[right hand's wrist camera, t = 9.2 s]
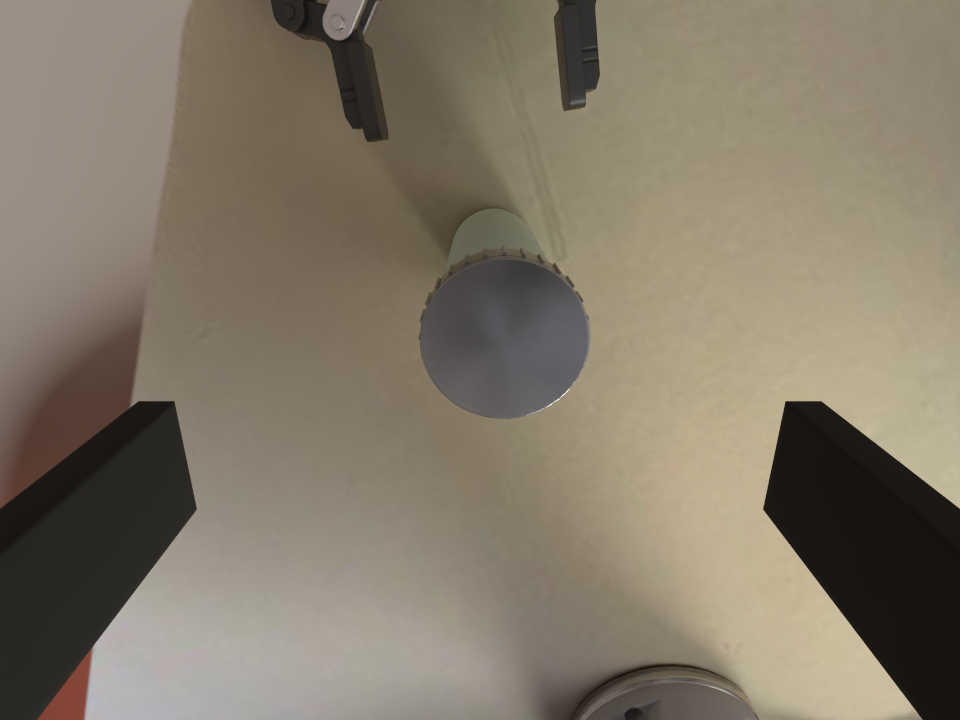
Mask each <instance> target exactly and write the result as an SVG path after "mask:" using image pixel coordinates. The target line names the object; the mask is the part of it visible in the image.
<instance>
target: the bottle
mask: <svg viewBox="0 0 960 720" xmlns="http://www.w3.org/2000/svg"><path fill="white" fill-rule="evenodd" d="M502 246H505V248H506V249H517V250H520V248H524V250H525V251H526V252H530V253H532V254H535V255H538V254H541V255H542V257H543V259H545V260H547V258H546V257H545V255H544V253H543V251H542V250H541V248H540V246H539V244H538V242H537V241H536V239H535V237H534V235H533V234H532V232H531V230H530V228H529V227H528V225H527V224H526V223H525V222H524V221H523V220H522V219H521V218H520V217H519V216H517V215H516V214H514V213H512V212H509V211H507V210H503V209H485V210H481V211H479V212H476V213H474V214H472V215H471V216H469V217H468V218H467V219H466V220H465V221H464V222H463V223H462V224H461V225H460V227H459V228H458V230H457V231H456V233H455V236H454V239H453V242H452V246H451V250H450V254H449V257H448V261H447V265H446V268H445V272H444V274H445V273H446V272H447V271H448V270H449V267H450V265H451V264H453V266H454V265H455V264H457V263H458V262H460V261H461V260H463V259H465V255H467V254H468V255H469V256H471V255H473V254H476V253H478V252H482V251H483V249H484V248H486V250H491V249H502ZM547 261H548V260H547Z"/></svg>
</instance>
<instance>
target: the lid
mask: <svg viewBox="0 0 960 720" xmlns="http://www.w3.org/2000/svg"><path fill="white" fill-rule="evenodd" d="M573 287H574V284H573V283H572V281H571V280H570V278H569V277H568V276H566V277H565V276H564V275H563V274H562V273H561V271H560V269H559V268H558V266H557V264H555V263H554V264H553V265H552V264H551V263H550V262H548V261H547V260H545V259H543V257H542V255H541V254H538V255H535V254H532V253H530V252H526V251H525V250H524V248H520V250H517V249H506V248H505V246H502V249H491V250H486V248H484V249H483V251H482V252H478V253H476V254H473V255H471V256H469V255H468V254H467V255H465V259H463V260H461V261H460V262H458V263H457V264H455V265H454V266H453V264H451V265H450V267H449V270H448V271H447V272H446V273H445V274H444V275H443V276H442V278H440V277H438V279H437V281H436V285H435V288H434V290H433V292H432V293H430V292H429V294H428V297H427V300H426V303H425V304H426V305H427V307H426V310H425V309H424V310H423V313H422V316H421V319H420V322H422V324H421V331H420V335H419V340H420V348H421V354H422V355H421V356H422V359H423V362H424V365H425V368H426V370H427V372H428V374H429V376H430V378H431V379H432V381H433V382H434V384H435V385H436V387H437V388H438V389H439V390H440V391H441V392H442V394H444V395H445V396H446V397H447V398H448V399H449V400H450V401H452V402H453V403H455V404H456V405H458V406H459V407H461V408H463V409H465V410H467V411H469V412H472V413H474V414H477V415H481V416H485V417H490V418H517V417H522V416H527V415H530V414H533V413H536V412H538V411H541V410H543V409H545V408H547V407H549V406H550V405H552V404H553V403H555V402H556V401H558V400H559V399H560V398H561V397H562V396H563V395H564V394H566V393H567V391H568V390H569V389H570V388H571V387H572V386H573V384H574V383H575V382H576V380H577V379H578V377H579V375H580V373H581V371H582V369H583V368H584V365H585V362H586V359H587V355H588V350H589V342H590V331H589V323H588V321H589V317H588V316H587V314H586V312H585V309H584V306H583V304H582V303H584V301H583V299H582V298H581V296H580V295H579V293H578V292H577V291H576V292H575V290H574V289H573Z"/></svg>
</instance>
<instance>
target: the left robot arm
mask: <svg viewBox="0 0 960 720" xmlns="http://www.w3.org/2000/svg"><path fill="white" fill-rule="evenodd" d="M381 1H382V0H329V2H328V5H326V4H322V3H317V1H316V0H271V3H272V8H273V14H274V17H275V19H276V21H277V22H278V24H279V25H280V26H282V27H283V28H285V29H287V30H288V31H290V32H292V33H294V34H295V35H297V36H299V37H300V38H302V39H306V40H309V39H311V40H316V41H320V42H324V43H326V44H327V45H328V47H329V48H330V51H331V53H332V57H333V62H334V67H335V71H336V76H337V80H338V85H339V90H340V94H341V99H342V103H343V108H344V113H345V117H346V119H347V120H348V122H349V123H350V125H351V127H352V128H353V129H363V131H364V134H365V138H366V140H367V142H375V141H381V140H387V139H388V129H387V124H386V119H385V113H384V108H383V103H382V98H381V93H380V88H379V83H378V78H377V72H376V67H375V62H374V57H373V52H372V48H371V47H370V46H369V45H367V44H366V43H365V40H364V39H365V37H366V34H367V32H368V29H369V27H370V25H371V22H372V20H373V17H374V15H375V13H376V10H377V8H378V6H379V4H380V2H381ZM556 1H557V2H558V5H559V10H558V11H557V13H556V15H555V16H554V24H555V34H556V45H557V55H558V66H559V76H560V86H561V97H562V105H563V110H564V111H567V110H574V109H580V108H583V107H585V105H586V92H590V91H593V90H595V89H596V87H597V83H598V79H599V76H600V71H599V60H598V44H597V31H596V17H595V3H596V0H556Z"/></svg>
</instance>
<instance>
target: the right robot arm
mask: <svg viewBox="0 0 960 720" xmlns="http://www.w3.org/2000/svg"><path fill="white" fill-rule="evenodd" d="M196 510H197V508H196V503H195V498H194V494H193V489H192V484H191V479H190V474H189V469H188V465H187V460H186V455H185V450H184V445H183V441H182V436H181V431H180V426H179V421H178V417H177V412H176V407H175V402H174V401H139V402H137V403H136V404H135V405H133V406H132V407H131V408H129V409H128V410H127V411H126V412H124V413H123V414H122V415H120V416H119V417H118V418H117V419H115V420H114V421H113V422H112V423H110V424H109V425H108V426H106V427H105V428H104V429H103V430H101V431H100V432H99V433H97V434H96V435H95V436H93V437H92V438H91V439H90V440H88V441H87V442H86V443H84V444H83V445H82V446H81V447H79V448H78V449H77V450H75V451H74V452H73V453H72V454H70V455H69V456H68V457H66V458H65V459H64V460H63V461H61V462H60V463H59V464H57V465H56V466H55V467H53V468H52V469H51V470H50V471H48V472H47V473H46V474H45V475H43V476H42V477H41V478H39V479H38V480H37V481H35V482H34V483H33V484H32V485H30V486H29V487H28V488H26V489H25V490H24V491H23V492H21V493H20V494H19V495H17V496H16V497H15V498H14V499H12V500H11V501H10V502H8V503H7V504H6V505H5V506H3V507H2V508H1V509H0V720H37V719H38V718H39V717H40V715H41V714H42V713H43V711H44V710H45V709H46V707H47V706H48V705H49V703H50V702H51V701H52V699H53V698H54V697H55V695H56V694H57V693H58V692H59V690H60V689H61V687H62V686H63V685H64V684H65V682H66V681H67V680H68V678H69V677H70V676H71V674H72V673H73V672H74V670H75V669H76V668H77V666H78V665H79V664H80V662H81V661H82V660H83V659H84V657H85V656H86V655H87V653H88V652H89V651H90V649H91V648H92V647H93V645H94V644H95V643H96V641H97V640H98V639H99V638H100V636H101V635H102V634H103V632H104V631H105V630H106V628H107V627H108V626H109V624H110V623H111V622H112V620H113V619H114V618H115V616H116V615H117V614H118V613H119V611H120V610H121V609H122V607H123V606H124V605H125V603H126V602H127V601H128V599H129V598H130V597H131V595H132V594H133V593H134V591H135V590H136V589H137V587H138V586H139V585H140V584H141V582H142V581H143V580H144V578H145V577H146V576H147V574H148V573H149V572H150V570H151V569H152V568H153V566H154V565H155V564H156V562H157V561H158V560H159V559H160V557H161V556H162V555H163V553H164V552H165V551H166V549H167V548H168V547H169V545H170V544H171V543H172V541H173V540H174V539H175V537H176V536H177V535H178V533H179V532H180V531H181V530H182V528H183V527H184V526H185V524H186V523H187V522H188V520H189V519H190V518H191V516H192V515H193V514H194V512H195V511H196ZM763 510H764V511H765V512H766V514H767V515H768V516H769V518H770V519H771V520H772V522H773V523H774V524H775V526H776V527H777V528H778V530H779V531H780V532H781V533H782V535H783V536H784V537H785V539H786V540H787V541H788V543H789V544H790V545H791V547H792V548H793V549H794V551H795V552H796V553H797V555H798V556H799V557H800V559H801V560H802V561H803V562H804V564H805V565H806V566H807V568H808V569H809V570H810V572H811V573H812V574H813V576H814V577H815V578H816V580H817V581H818V582H819V584H820V585H821V586H822V587H823V589H824V590H825V591H826V593H827V594H828V595H829V597H830V598H831V599H832V601H833V602H834V603H835V605H836V606H837V607H838V609H839V610H840V611H841V613H842V614H843V615H844V616H845V618H846V619H847V620H848V622H849V623H850V624H851V626H852V627H853V628H854V630H855V631H856V632H857V634H858V635H859V636H860V638H861V639H862V640H863V641H864V643H865V644H866V645H867V647H868V648H869V649H870V651H871V652H872V653H873V655H874V656H875V657H876V659H877V660H878V661H879V663H880V664H881V665H882V667H883V668H884V669H885V670H886V672H887V673H888V674H889V676H890V677H891V678H892V680H893V681H894V682H895V684H896V685H897V686H898V688H899V689H900V690H901V692H902V693H903V694H904V695H905V697H906V698H907V699H908V701H909V702H910V703H911V705H912V706H913V707H914V709H915V710H916V711H917V713H918V714H919V715H920V717H921V718H922V719H923V720H960V509H959V508H958V507H957V506H955V505H954V504H953V503H952V502H950V501H949V500H948V499H946V498H945V497H944V496H943V495H941V494H940V493H939V492H937V491H936V490H935V489H934V488H932V487H931V486H930V485H928V484H927V483H926V482H925V481H923V480H922V479H921V478H919V477H918V476H917V475H916V474H914V473H913V472H912V471H910V470H909V469H908V468H907V467H905V466H904V465H903V464H901V463H900V462H899V461H897V460H896V459H895V458H894V457H892V456H891V455H890V454H888V453H887V452H886V451H885V450H883V449H882V448H881V447H879V446H878V445H877V444H876V443H874V442H873V441H872V440H870V439H869V438H868V437H867V436H865V435H864V434H863V433H861V432H860V431H859V430H858V429H856V428H855V427H854V426H852V425H851V424H850V423H849V422H847V421H846V420H845V419H843V418H842V417H841V416H840V415H838V414H837V413H836V412H834V411H833V410H832V409H831V408H829V407H828V406H827V405H825V404H824V403H823V402H821V401H786V402H785V407H784V412H783V417H782V421H781V426H780V431H779V436H778V441H777V445H776V450H775V455H774V460H773V465H772V469H771V474H770V479H769V484H768V489H767V494H766V498H765V503H764V508H763ZM571 720H759V719H758V717H757V715H756V713H755V711H754V708H753V706H752V704H751V702H750V701H749V699H748V698H747V697H746V695H745V694H744V693H743V692H742V691H741V690H740V689H739V688H738V687H737V686H735V685H734V684H733V683H731V682H730V681H728V680H726V679H724V678H723V677H720V676H718V675H716V674H713V673H710V672H707V671H704V670H700V669H695V668H689V667H678V666H667V667H655V668H648V669H643V670H639V671H635V672H632V673H629V674H626V675H623V676H621V677H618V678H616V679H614V680H612V681H610V682H608V683H606V684H605V685H603V686H601V687H600V688H599V689H597V690H596V691H594V692H593V693H592V694H591V695H590V696H588V697H587V698H586V699H585V700H584V701H583V703H582V704H581V705H580V706H579V707H578V709H577V710H576V712H575V713H574V715H573V717H572V719H571Z"/></svg>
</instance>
